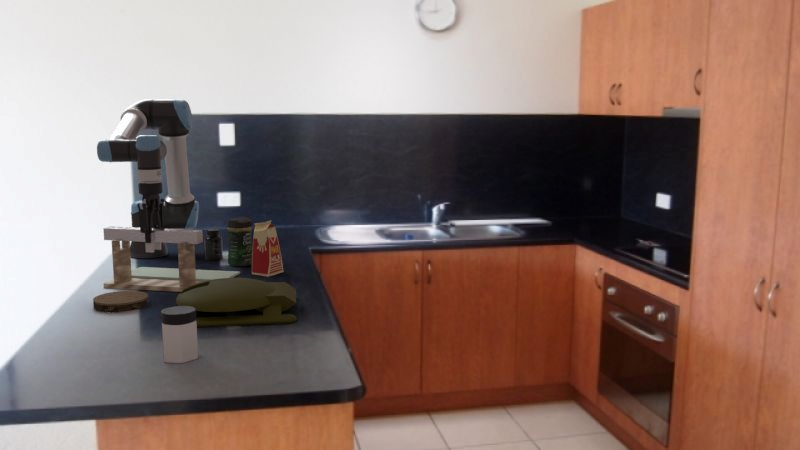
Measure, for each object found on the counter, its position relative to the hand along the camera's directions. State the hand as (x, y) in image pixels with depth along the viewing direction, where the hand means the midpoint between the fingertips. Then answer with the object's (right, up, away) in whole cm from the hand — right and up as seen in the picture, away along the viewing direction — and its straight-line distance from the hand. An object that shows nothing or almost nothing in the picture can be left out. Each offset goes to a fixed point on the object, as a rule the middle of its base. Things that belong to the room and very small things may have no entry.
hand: (153, 250), depth 248 cm
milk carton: (+34, -9, +23) cm, 42 cm away
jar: (+30, -24, -69) cm, 79 cm away
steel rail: (0, +3, -1) cm, 3 cm away
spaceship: (+35, -18, -28) cm, 48 cm away
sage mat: (+3, -10, +19) cm, 22 cm away
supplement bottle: (+8, -5, +48) cm, 49 cm away
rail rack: (0, -12, +2) cm, 13 cm away
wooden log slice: (-3, -17, -22) cm, 28 cm away
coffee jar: (+21, -7, +38) cm, 44 cm away
